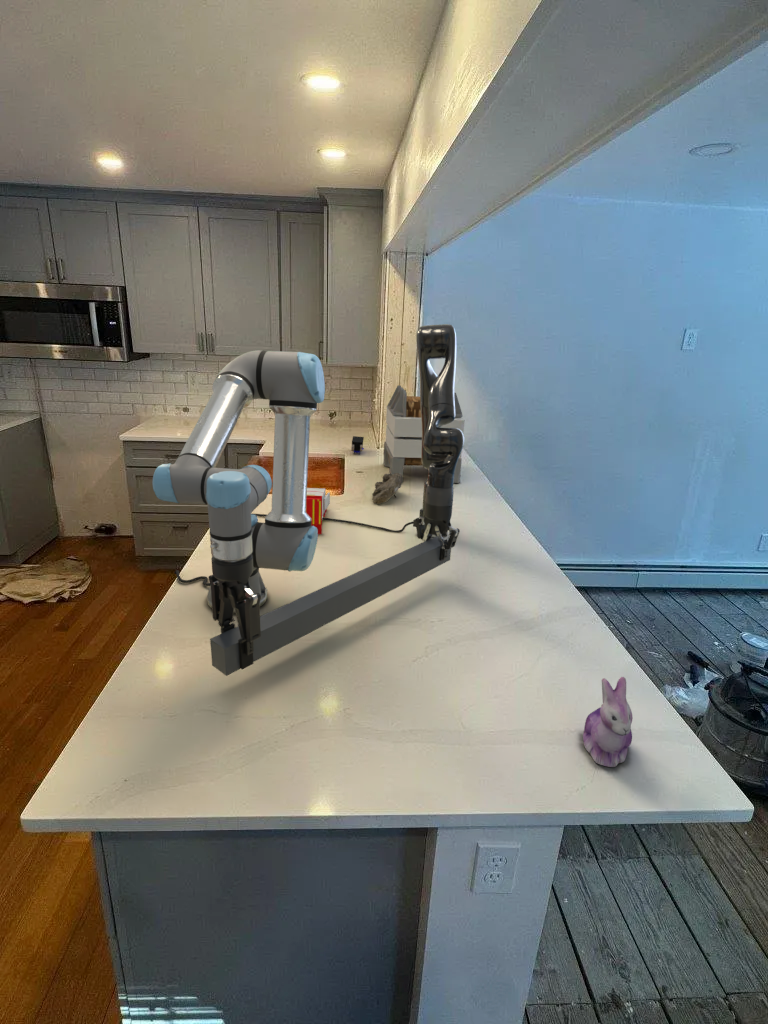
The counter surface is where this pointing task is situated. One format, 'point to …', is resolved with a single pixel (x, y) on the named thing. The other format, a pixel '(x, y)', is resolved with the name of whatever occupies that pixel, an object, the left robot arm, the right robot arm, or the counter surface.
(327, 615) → the post
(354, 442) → the figurine character
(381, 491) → the fossil
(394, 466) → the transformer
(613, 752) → the figurine
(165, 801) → the counter surface
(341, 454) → the counter surface
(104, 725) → the counter surface
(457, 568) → the counter surface
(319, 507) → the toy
